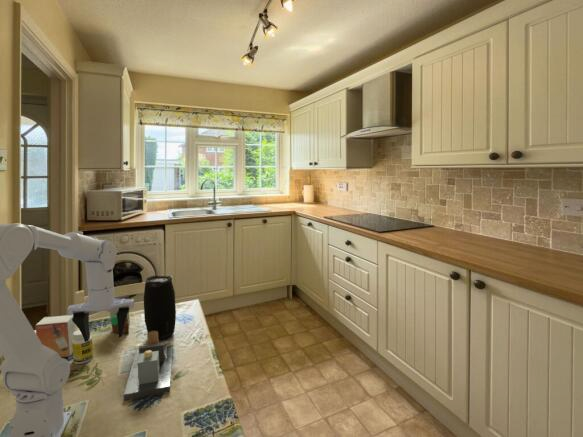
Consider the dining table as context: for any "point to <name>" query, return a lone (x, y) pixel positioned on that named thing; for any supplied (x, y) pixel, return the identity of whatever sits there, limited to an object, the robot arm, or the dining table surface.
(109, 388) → the dining table surface
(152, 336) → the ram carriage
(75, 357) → the supplement bottle
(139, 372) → the block
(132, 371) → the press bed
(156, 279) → the portable speaker
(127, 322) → the food container
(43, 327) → the small box
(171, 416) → the dining table surface
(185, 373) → the dining table surface
